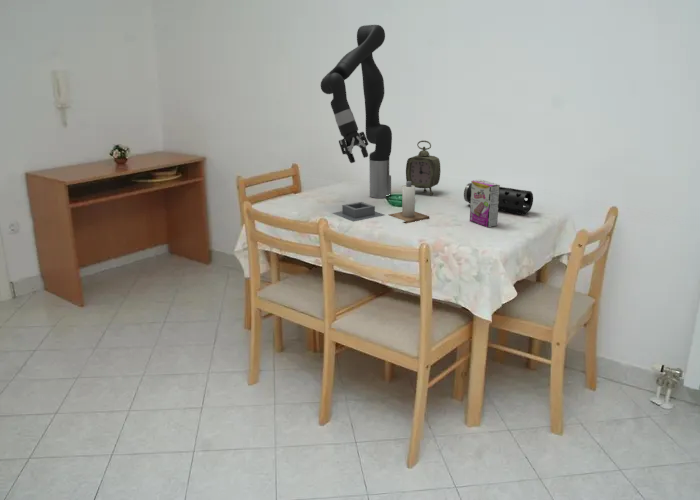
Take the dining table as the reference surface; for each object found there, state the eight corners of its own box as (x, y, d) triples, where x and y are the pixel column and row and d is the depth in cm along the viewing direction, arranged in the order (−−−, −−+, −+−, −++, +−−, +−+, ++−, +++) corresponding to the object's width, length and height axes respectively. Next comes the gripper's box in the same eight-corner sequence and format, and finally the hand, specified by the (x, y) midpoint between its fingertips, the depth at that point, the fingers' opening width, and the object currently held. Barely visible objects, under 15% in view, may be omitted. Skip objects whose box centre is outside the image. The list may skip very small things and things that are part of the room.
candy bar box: (468, 221, 234) (470, 180, 229) (478, 219, 236) (480, 179, 231) (487, 228, 224) (490, 185, 219) (497, 226, 227) (500, 184, 222)
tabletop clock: (405, 193, 281) (406, 140, 273) (413, 189, 288) (414, 138, 280) (433, 196, 274) (435, 142, 266) (441, 192, 281) (443, 140, 273)
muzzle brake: (521, 217, 238) (523, 192, 235) (461, 207, 256) (463, 183, 253) (532, 213, 244) (534, 188, 241) (473, 202, 262) (474, 179, 259)
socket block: (363, 209, 254) (363, 199, 253) (385, 217, 241) (385, 206, 240) (331, 215, 246) (331, 204, 244) (353, 223, 233) (352, 212, 232)
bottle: (409, 213, 243) (409, 179, 239) (417, 215, 239) (417, 181, 235) (399, 215, 241) (400, 181, 236) (407, 217, 237) (407, 183, 232)
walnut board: (410, 212, 248) (410, 210, 248) (429, 218, 238) (429, 216, 238) (387, 217, 242) (387, 214, 242) (405, 223, 232) (405, 221, 232)
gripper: (341, 123, 235) (355, 162, 238) (363, 116, 245) (376, 153, 248) (328, 128, 240) (342, 166, 243) (351, 121, 250) (364, 157, 253)
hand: (359, 159), depth 245 cm, fingers open, 8 cm apart
